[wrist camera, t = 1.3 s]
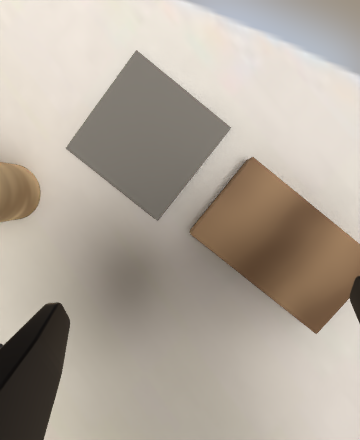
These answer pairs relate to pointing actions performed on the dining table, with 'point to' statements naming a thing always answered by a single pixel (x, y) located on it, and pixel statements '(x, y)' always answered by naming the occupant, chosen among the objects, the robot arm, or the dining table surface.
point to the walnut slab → (281, 244)
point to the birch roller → (17, 192)
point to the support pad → (147, 136)
